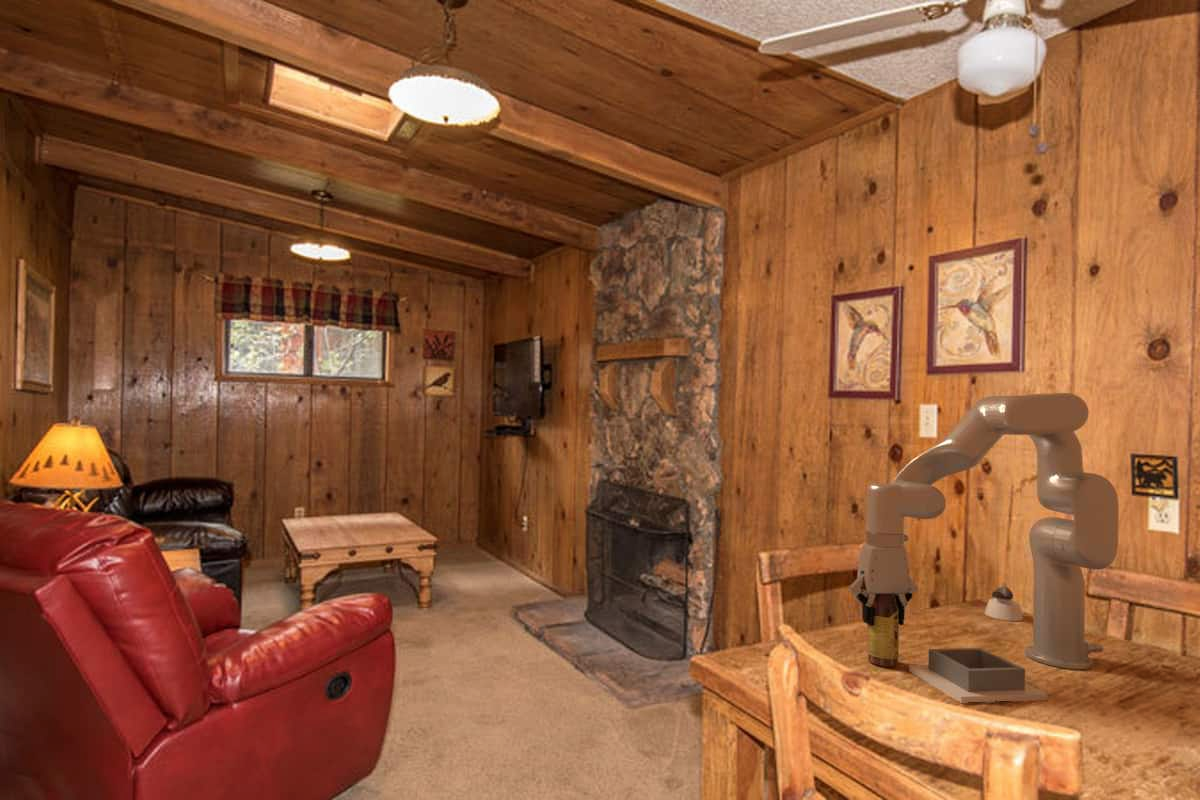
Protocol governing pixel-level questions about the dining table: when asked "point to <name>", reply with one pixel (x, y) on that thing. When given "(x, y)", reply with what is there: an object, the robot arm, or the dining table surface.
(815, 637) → the dining table surface
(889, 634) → the sauce bottle
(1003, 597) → the inkwell
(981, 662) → the bottle stand
